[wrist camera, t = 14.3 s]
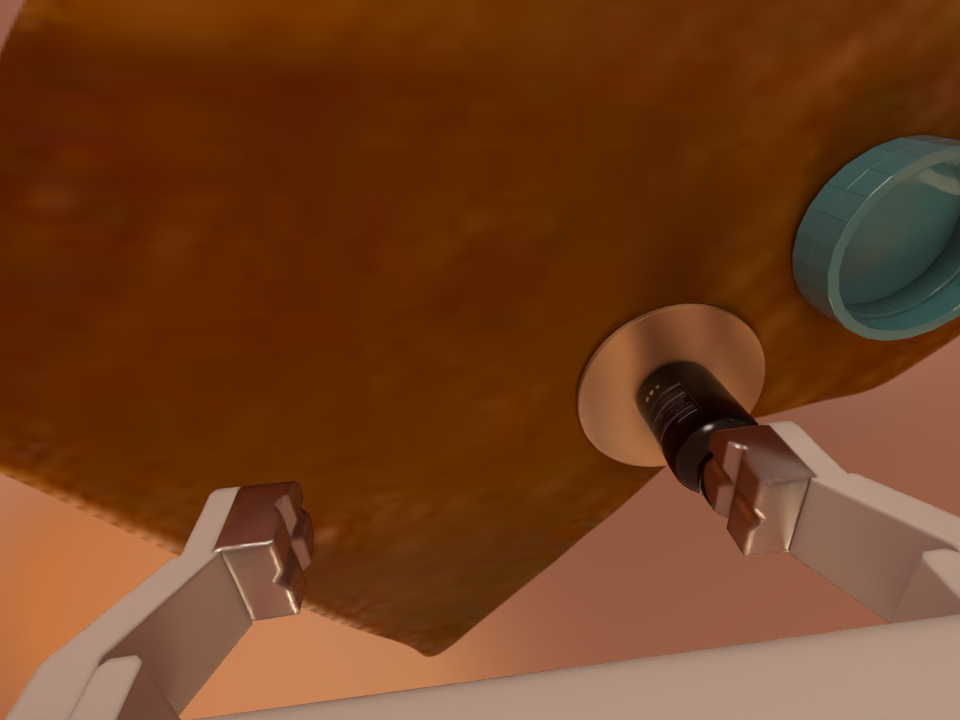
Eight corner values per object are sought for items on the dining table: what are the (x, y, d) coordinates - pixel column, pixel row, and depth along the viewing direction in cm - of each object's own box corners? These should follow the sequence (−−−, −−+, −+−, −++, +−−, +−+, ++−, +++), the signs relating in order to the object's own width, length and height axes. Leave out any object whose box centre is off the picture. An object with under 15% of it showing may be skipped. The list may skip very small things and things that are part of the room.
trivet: (721, 264, 41) (725, 266, 40) (786, 403, 48) (790, 406, 48) (541, 375, 44) (542, 379, 44) (627, 489, 52) (629, 493, 51)
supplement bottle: (729, 375, 45) (821, 472, 35) (679, 435, 48) (750, 541, 38) (665, 344, 43) (742, 437, 33) (617, 409, 46) (674, 514, 36)
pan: (956, 91, 36) (1020, 96, 32) (984, 251, 42) (1041, 271, 38) (765, 211, 39) (803, 229, 35) (818, 344, 45) (855, 372, 41)
